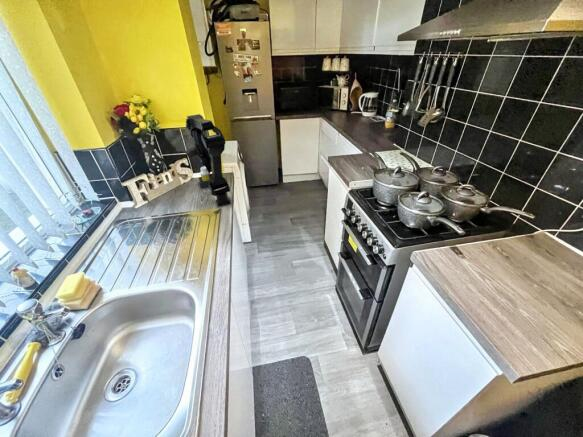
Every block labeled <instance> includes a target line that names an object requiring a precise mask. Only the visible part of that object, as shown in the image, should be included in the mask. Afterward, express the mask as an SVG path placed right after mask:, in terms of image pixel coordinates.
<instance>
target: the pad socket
mask: <svg viewBox="0 0 583 437" xmlns="http://www.w3.org/2000/svg"><path fill="white" fill-rule="evenodd" d="M198 179H199V183H200V185H201V186H200V187H201V188H202V189H205V188H209V186H208V185H209V180H208V181H204V182H203V181H202V177H201V176H199V177H198Z"/></svg>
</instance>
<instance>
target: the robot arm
mask: <svg viewBox="0 0 583 437" xmlns="http://www.w3.org/2000/svg"><path fill="white" fill-rule="evenodd" d="M185 128H186V130H187V133H188V135H189V136H190V137H191V138H193V142H194V146H192V147H190V148H188V149H187V150H185V151H184V153H185V155H186V156H187V157H188V159H189V160H192V159H193V158H194V157H196V156H197V157H199V161H200V164H201V165H204V166H205V167H206V169H207V171H208V173H210V174H209V185H208V186H209V187H208V188H209V191H210V194H211V196H214V197H215V198H216V200H215V201H216V204H217V206H218V207H223V206H226V205H229V204H231V200H230V198H229V196H228V192H231V188H230V186H229V182H228V181H227V179H226V177H225V176H224V175H223V165H222V163H223V162H222V154H223V152H225V150H226V148H225V146H226V139H225V137H224V135H223V132H222V131H221V129H220V128H218V127H217V126H215V125H214V123H213V121H212V120H210V119H205V118H204V116H203V115H202V114H200V113H197V114H192V115H187V116H186V118H185ZM208 131H212V133H214V134H212V135H207V136H206V134H205V133H206V132H208Z"/></svg>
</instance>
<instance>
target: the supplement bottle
mask: <svg viewBox="0 0 583 437" xmlns="http://www.w3.org/2000/svg"><path fill="white" fill-rule="evenodd" d="M199 174H200V177H202V181H203V182H204V181H208V180H209V174H211V172H210V173H208V171H207V169H206V167H205V165H204V166H201V167H200V172H199Z"/></svg>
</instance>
